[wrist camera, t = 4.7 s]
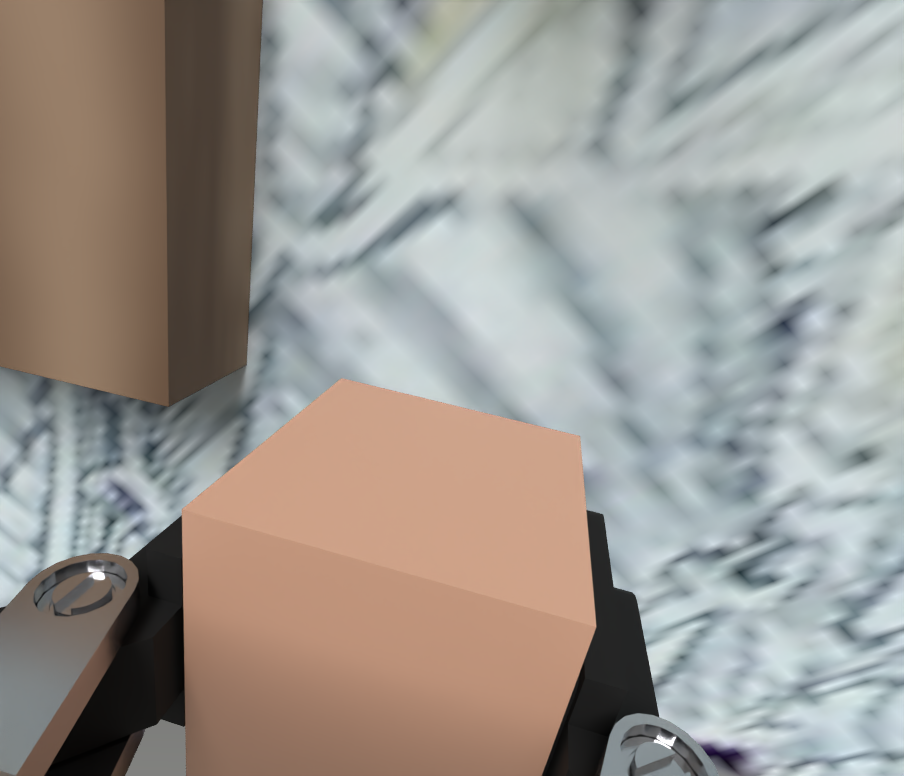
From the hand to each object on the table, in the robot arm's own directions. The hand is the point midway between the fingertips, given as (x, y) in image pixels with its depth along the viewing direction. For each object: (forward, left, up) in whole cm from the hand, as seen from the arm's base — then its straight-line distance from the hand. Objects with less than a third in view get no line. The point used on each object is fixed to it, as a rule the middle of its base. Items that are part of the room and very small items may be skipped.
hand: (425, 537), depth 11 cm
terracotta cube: (0, 0, -1) cm, 1 cm away
